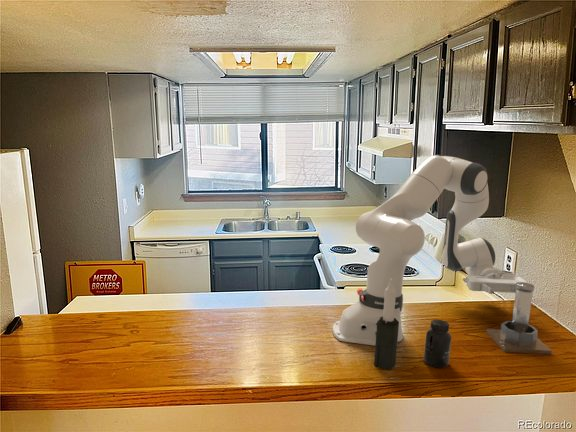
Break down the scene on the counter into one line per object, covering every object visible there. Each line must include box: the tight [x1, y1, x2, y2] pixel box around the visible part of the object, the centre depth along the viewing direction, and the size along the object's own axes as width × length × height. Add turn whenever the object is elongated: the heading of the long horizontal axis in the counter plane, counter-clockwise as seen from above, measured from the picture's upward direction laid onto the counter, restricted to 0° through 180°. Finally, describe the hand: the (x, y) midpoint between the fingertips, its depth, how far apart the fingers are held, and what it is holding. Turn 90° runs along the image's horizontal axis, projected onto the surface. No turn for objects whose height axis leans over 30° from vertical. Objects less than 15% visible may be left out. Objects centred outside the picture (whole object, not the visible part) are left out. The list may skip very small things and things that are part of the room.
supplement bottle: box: [423, 319, 452, 369], centre depth 128 cm, size 7×7×12 cm
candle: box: [373, 279, 399, 371], centre depth 124 cm, size 5×5×25 cm
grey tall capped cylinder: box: [511, 282, 535, 333], centre depth 142 cm, size 5×5×18 cm
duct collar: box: [486, 320, 553, 355], centre depth 143 cm, size 14×14×5 cm
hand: (505, 292), depth 153 cm, fingers open, 8 cm apart
